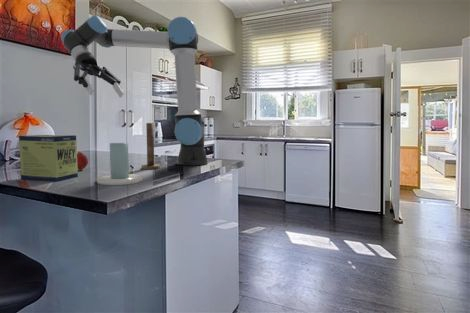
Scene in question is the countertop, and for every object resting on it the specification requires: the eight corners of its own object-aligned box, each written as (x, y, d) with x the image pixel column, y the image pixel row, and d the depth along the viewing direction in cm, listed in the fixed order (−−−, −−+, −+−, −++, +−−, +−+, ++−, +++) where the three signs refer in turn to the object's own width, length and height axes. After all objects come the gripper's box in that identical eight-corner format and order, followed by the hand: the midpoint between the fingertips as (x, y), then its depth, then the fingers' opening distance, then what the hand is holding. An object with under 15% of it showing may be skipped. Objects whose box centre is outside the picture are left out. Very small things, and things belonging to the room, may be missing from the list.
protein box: (57, 181, 108) (55, 136, 106) (20, 179, 112) (17, 135, 110) (79, 176, 118) (77, 135, 116) (44, 174, 122) (42, 134, 120)
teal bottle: (122, 175, 115) (121, 142, 113) (132, 177, 111) (131, 143, 110) (107, 177, 110) (106, 143, 109) (117, 179, 106) (115, 144, 105)
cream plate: (126, 175, 121) (126, 172, 121) (151, 180, 112) (151, 177, 112) (88, 181, 109) (88, 178, 109) (112, 187, 100) (112, 183, 100)
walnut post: (152, 166, 147) (151, 123, 145) (163, 167, 142) (163, 123, 140) (137, 168, 140) (136, 123, 138) (149, 170, 136) (148, 123, 133)
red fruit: (81, 168, 137) (80, 150, 136) (91, 169, 135) (90, 151, 134) (69, 170, 132) (69, 151, 131) (80, 171, 130) (79, 152, 129)
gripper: (106, 70, 146) (129, 102, 139) (51, 61, 125) (74, 98, 119) (113, 57, 142) (136, 89, 136) (57, 45, 122) (82, 83, 115)
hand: (107, 93), depth 127 cm, fingers open, 13 cm apart
